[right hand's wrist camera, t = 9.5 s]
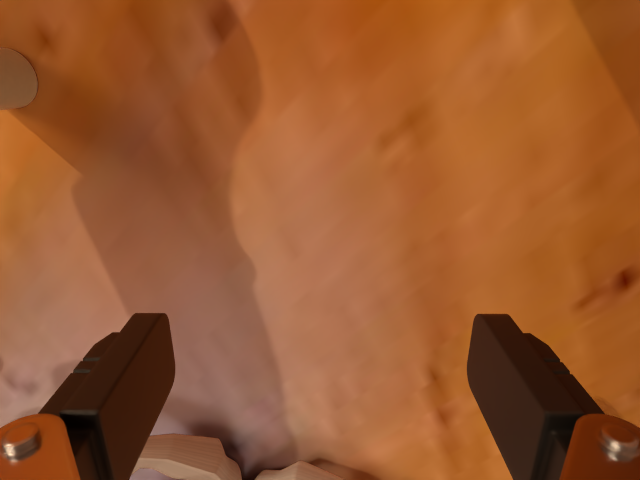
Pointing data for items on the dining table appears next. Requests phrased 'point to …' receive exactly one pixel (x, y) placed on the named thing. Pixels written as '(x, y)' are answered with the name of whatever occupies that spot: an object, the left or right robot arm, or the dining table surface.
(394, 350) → the dining table surface
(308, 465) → the animal horns
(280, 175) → the dining table surface
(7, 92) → the jar
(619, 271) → the dining table surface
